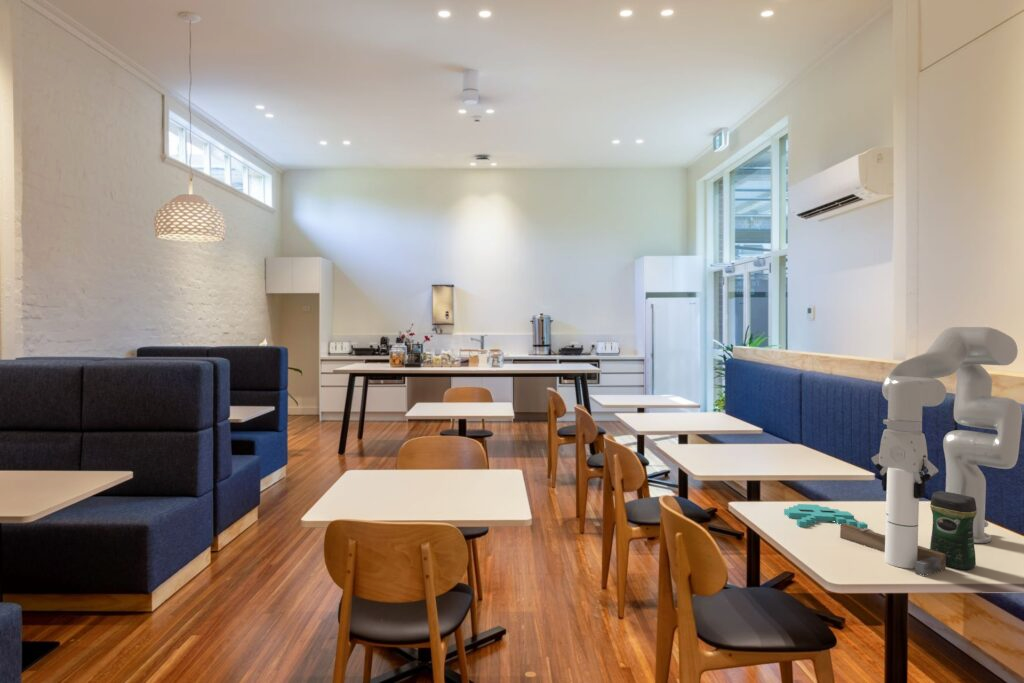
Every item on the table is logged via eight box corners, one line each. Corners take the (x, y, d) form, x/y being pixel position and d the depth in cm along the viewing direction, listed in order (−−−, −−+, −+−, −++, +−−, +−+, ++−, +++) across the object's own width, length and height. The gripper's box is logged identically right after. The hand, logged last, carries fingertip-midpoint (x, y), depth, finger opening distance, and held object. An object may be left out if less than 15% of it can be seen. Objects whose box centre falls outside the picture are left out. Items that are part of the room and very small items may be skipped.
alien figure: (867, 531, 184) (838, 512, 204) (867, 524, 184) (838, 505, 204) (799, 528, 186) (777, 509, 206) (799, 521, 186) (777, 503, 206)
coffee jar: (979, 566, 156) (982, 495, 156) (967, 573, 151) (969, 500, 151) (937, 554, 164) (939, 487, 164) (924, 560, 160) (926, 491, 159)
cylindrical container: (910, 559, 160) (912, 465, 159) (922, 569, 153) (924, 472, 152) (880, 556, 162) (882, 464, 161) (890, 566, 155) (893, 470, 154)
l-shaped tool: (844, 536, 178) (845, 522, 177) (945, 569, 154) (946, 552, 154) (822, 541, 173) (823, 526, 173) (923, 576, 149) (924, 559, 149)
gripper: (862, 422, 162) (861, 487, 163) (932, 432, 147) (930, 504, 147) (879, 420, 166) (877, 484, 166) (949, 430, 151) (947, 500, 151)
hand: (902, 493), depth 157 cm, fingers closed on cylindrical container, 7 cm apart
